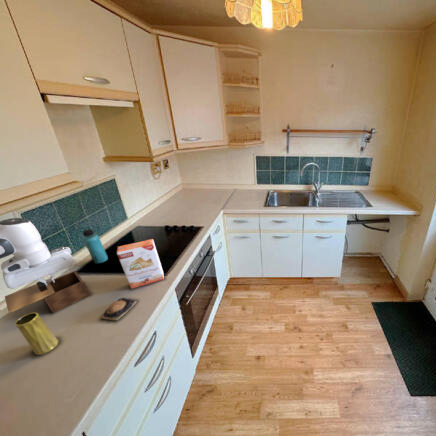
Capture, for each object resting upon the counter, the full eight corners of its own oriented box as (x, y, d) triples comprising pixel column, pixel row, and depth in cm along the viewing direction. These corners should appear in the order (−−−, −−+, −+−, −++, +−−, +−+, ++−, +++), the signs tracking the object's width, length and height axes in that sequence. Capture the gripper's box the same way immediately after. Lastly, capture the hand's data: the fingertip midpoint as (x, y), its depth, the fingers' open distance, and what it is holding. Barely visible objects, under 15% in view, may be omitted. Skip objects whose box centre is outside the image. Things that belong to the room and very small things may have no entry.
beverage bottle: (111, 257, 129) (97, 226, 121) (106, 264, 124) (92, 232, 115) (97, 260, 127) (83, 228, 119) (92, 267, 122) (76, 234, 113)
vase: (50, 353, 78) (29, 325, 72) (29, 356, 78) (6, 327, 71) (63, 338, 84) (44, 310, 78) (44, 340, 83) (23, 312, 77)
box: (53, 313, 94) (43, 298, 91) (46, 299, 101) (37, 285, 98) (90, 295, 103) (83, 281, 100) (82, 283, 110) (75, 270, 107)
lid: (9, 313, 84) (4, 306, 83) (5, 297, 91) (1, 291, 90) (55, 293, 93) (51, 287, 92) (48, 280, 100) (45, 274, 99)
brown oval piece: (117, 322, 90) (114, 315, 88) (99, 318, 92) (96, 312, 90) (138, 301, 100) (136, 295, 98) (122, 299, 101) (119, 292, 99)
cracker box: (131, 290, 106) (115, 252, 97) (131, 282, 111) (117, 246, 102) (164, 279, 112) (152, 243, 103) (164, 272, 117) (152, 237, 108)
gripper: (66, 242, 99) (79, 268, 105) (-6, 266, 85) (14, 294, 91) (70, 247, 96) (83, 273, 102) (-4, 272, 81) (16, 301, 87)
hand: (50, 283), depth 96 cm, fingers closed
